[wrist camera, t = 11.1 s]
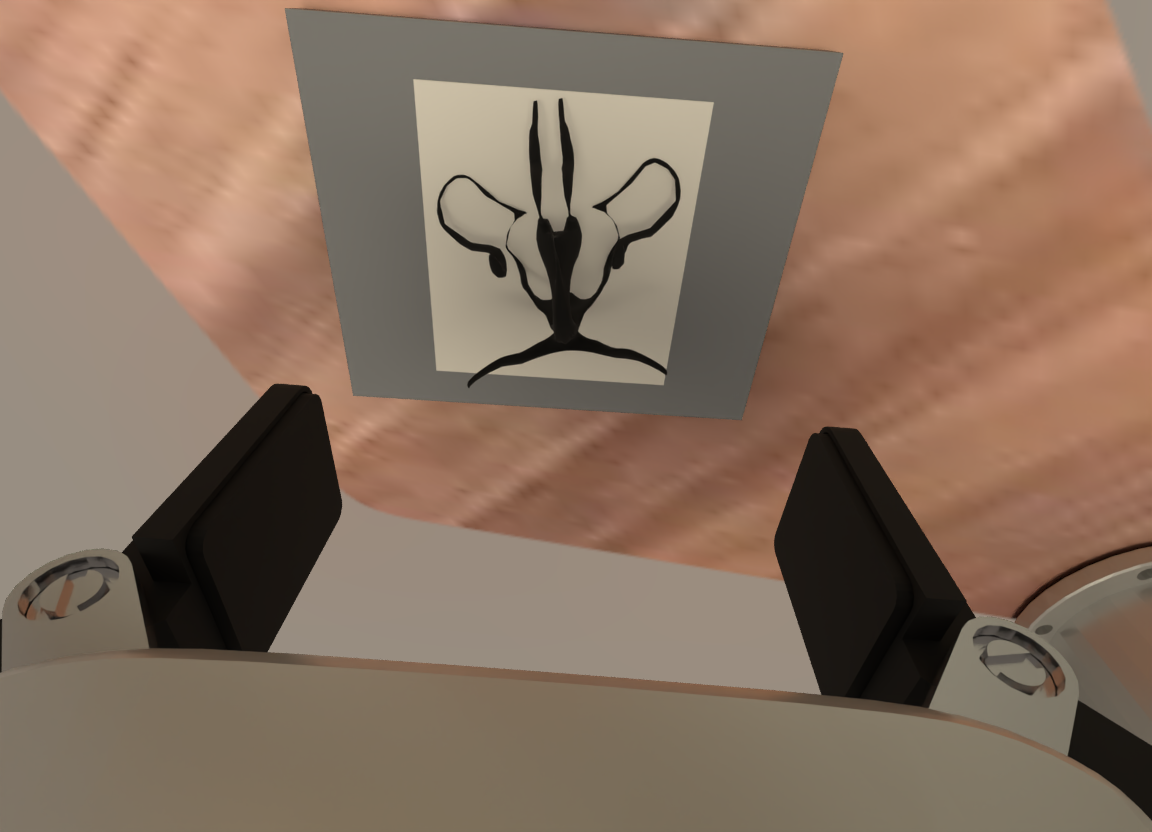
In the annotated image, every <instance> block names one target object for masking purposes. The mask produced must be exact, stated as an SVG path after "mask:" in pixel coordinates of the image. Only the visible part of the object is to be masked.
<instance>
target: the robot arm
mask: <svg viewBox="0 0 1152 832" xmlns="http://www.w3.org/2000/svg"><path fill="white" fill-rule="evenodd" d="M341 509H342V499H341V494H340V489H339V484H338V479H337V474H336V470H335V465H334V460H333V455H332V450H331V445H330V440H329V436H328V431H327V426H326V421H325V416H324V411H323V406H322V402H321V399H320V397H319V395H317V394H312V391H311V390H310V388H309V387H307V386H301V385H288V384H274V385H272V386H271V387H270V388H269V389H268V390H267V391H266V392H265V394H264V395H263V396H262V397H261V398H260V399H259V400H258V401H257V402H256V403H255V404H254V405H253V406H252V408H251V409H250V410H249V411H248V412H247V413H246V414H245V415H244V416H243V417H242V418H241V420H239V422H238V423H237V424H236V425H235V426H234V427H233V428H232V429H231V430H230V431H229V432H228V433H227V435H226V436H225V437H224V438H223V439H222V440H221V441H220V442H219V443H218V444H217V445H216V447H215V448H214V449H213V450H212V451H211V452H210V453H209V454H208V455H207V456H206V457H205V458H204V459H203V460H202V461H201V463H200V464H199V465H198V466H197V467H196V468H195V469H194V470H193V471H192V472H191V473H190V474H189V476H188V477H187V478H186V479H185V480H184V481H183V482H182V483H181V484H180V485H179V486H178V487H177V489H176V490H175V491H174V492H173V493H172V494H171V495H170V496H169V497H168V498H167V499H166V500H165V501H164V502H163V504H162V505H161V506H160V507H159V508H158V509H157V510H156V511H155V512H154V513H153V514H152V515H151V517H150V518H149V519H148V520H147V521H146V522H145V523H144V524H143V525H142V526H141V527H140V528H139V529H138V531H137V532H136V533H135V534H134V535H133V536H132V539H133V541H132V542H131V543H130V544H129V545H128V546H127V547H126V548H125V550H124V551H123V552H122V553H121V552H119V551H116V550H110V549H92V550H84V551H80V552H76V553H72V554H68V555H66V556H63V557H61V558H58V559H56V560H53V561H51V562H49V563H47V564H45V565H44V566H42V567H40V568H39V569H37V570H35V571H34V572H32V573H30V574H29V575H28V576H27V577H26V578H24V579H23V580H22V581H21V582H20V583H18V584H17V585H16V586H15V587H14V589H13V590H12V592H11V593H10V594H9V596H8V597H7V598H6V600H5V604H4V607H3V611H2V619H0V832H1152V546H1151V547H1146V548H1140V549H1136V550H1133V551H1129V552H1126V553H1122V554H1119V555H1115V556H1112V557H1109V558H1107V559H1104V560H1102V561H1099V562H1096V563H1094V564H1091V565H1089V566H1086V567H1084V568H1083V569H1081V570H1079V571H1077V572H1075V573H1073V574H1071V575H1069V576H1067V577H1065V578H1063V579H1062V580H1060V581H1059V582H1057V583H1055V584H1054V585H1052V586H1051V587H1049V588H1048V589H1046V590H1045V591H1044V592H1042V593H1041V594H1040V595H1039V596H1038V597H1036V598H1035V599H1034V600H1033V601H1032V602H1031V603H1029V604H1028V606H1027V607H1026V608H1025V609H1024V610H1023V611H1022V613H1021V614H1020V615H1019V616H1018V617H1017V619H1016V621H1015V623H1013V622H1011V621H1008V620H1004V619H999V618H995V617H978V618H976V617H975V615H974V614H973V612H972V611H971V609H970V608H969V606H968V604H967V603H966V602H967V601H966V599H965V598H964V596H963V594H962V593H961V591H960V590H959V588H958V586H957V585H956V583H955V582H954V580H953V579H952V577H951V575H950V574H949V572H948V571H947V569H946V567H945V566H944V564H943V563H942V561H941V560H940V558H939V556H938V555H937V553H936V552H935V550H934V549H933V547H932V545H931V544H930V542H929V541H928V539H927V537H926V536H925V534H924V533H923V531H922V530H921V528H920V526H919V525H918V523H917V522H916V520H915V518H914V517H913V515H912V514H911V512H910V511H909V509H908V507H907V506H906V504H905V503H904V501H903V499H902V498H901V496H900V495H899V493H898V492H897V490H896V488H895V487H894V485H893V484H892V482H891V480H890V479H889V477H888V476H887V474H886V473H885V471H884V469H883V468H882V466H881V465H880V463H879V461H878V460H877V458H876V457H875V455H874V454H873V452H872V450H871V449H870V447H869V446H868V444H867V442H866V441H865V439H864V438H863V436H862V435H861V433H860V432H859V431H858V430H857V429H852V428H839V427H824V428H823V429H822V430H821V431H820V433H814V434H812V435H811V437H810V439H809V441H808V444H807V447H806V449H805V452H804V455H803V458H802V461H801V464H800V466H799V469H798V472H797V475H796V478H795V480H794V483H793V486H792V489H791V492H790V494H789V497H788V500H787V503H786V506H785V509H784V511H783V514H782V517H781V520H780V523H779V525H778V528H777V531H776V534H775V540H774V548H775V553H776V557H777V560H778V563H779V566H780V569H781V572H782V575H783V578H784V581H785V584H786V587H787V590H788V593H789V597H790V600H791V603H792V606H793V609H794V612H795V615H796V618H797V621H798V624H799V627H800V630H801V633H802V636H803V639H804V643H805V646H806V649H807V652H808V655H809V657H810V661H811V664H812V667H813V670H814V673H815V676H816V679H817V683H818V685H819V689H820V692H821V695H817V694H806V693H796V692H786V691H775V690H763V689H750V688H739V687H726V686H714V685H701V684H690V683H678V682H666V681H652V680H641V679H629V678H616V677H602V676H590V675H577V674H564V673H551V672H539V671H525V670H511V669H498V668H484V667H472V666H459V665H446V664H431V663H416V662H403V661H389V660H373V659H360V658H346V657H333V656H318V655H305V654H288V653H270V652H268V650H269V648H270V646H271V644H272V643H273V641H274V639H275V637H276V635H277V633H278V631H279V629H280V628H281V626H282V624H283V622H284V620H285V618H286V617H287V615H288V613H289V611H290V609H291V607H292V605H293V604H294V602H295V600H296V598H297V596H298V594H299V592H300V591H301V589H302V587H303V585H304V583H305V581H306V579H307V578H308V576H309V574H310V572H311V570H312V568H313V567H314V565H315V563H316V561H317V559H318V557H319V555H320V553H321V552H322V550H323V548H324V546H325V544H326V542H327V540H328V539H329V537H330V535H331V533H332V531H333V529H334V528H335V526H336V524H337V522H338V520H339V518H340V515H341Z"/></svg>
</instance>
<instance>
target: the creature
mask: <svg viewBox="0 0 1152 832" xmlns="http://www.w3.org/2000/svg"><path fill="white" fill-rule="evenodd" d="M558 110H559V125H560V140H561V149H562V156H563V164H562V168H561V169H562V181H563V189H564V197H565V201H566V204H567V208H568V215H569V216H568V217H567V219H566V223H565V227H564V230H563V231H555V232H554V231H553V229H552V226H551V224H550V222H549V220H548V219H544V218H543V217H542V215H541V198H542V171H543V169H542V164H541V155H540V144H539V138H538V103H537V100H536V101H534V102H533V114H532V125H531V128H530V131H529V161H530V175H531V184H532V193H533V197H534V201H535V204H536V207H537V210H538V214H539V219H538V225H537V231H536V241H537V246H538V250H539V253H540V255H541V258H542V261H543V263H544V266H545V268H546V271H547V275H548V278H549V282H550V288H551V293H552V299H551V300H542V299H540V298H539V297H537V296H536V295H534V293H533V291H532V290H531V288H530V286H529V285H528V280H527V275H526V271H525V268H524V266H523V265H522V263H521V262H520V261H519V260H518V258H517V257H516V256H515V255H514V254H513V253H512V252H511V251H510V250H509V249H508V246H507V240H508V236H509V232H510V229H509V231H508V233H507V239H506V249H507V251H508V252H509V253H510V254H511V255H512V256H513V258H514V260H515V262H516V264H517V268H518V271H519V274H520V279H521V284H522V287H523V289H524V290H525V291H526V292H527V293H528V295H529V296H530V298H531V299H532V301H533V302H534V304H535V306H536V307H537V309H539V310H540V311H541V312H543V313H544V314H545V316H546V318H547V320H548V323H549V325H550V328H551V329H552V330H553V332H554V333H553V334H552V335H551V336H550V337H548V338H546V339H545V340H543V341H540V342H538V343H537V344H535V345H533V346H532V347H530V348H528V349H526V350H524V351H523V352H520V353H516V354H511V355H507V356H504V357H501V358H499V359H497V360H495V361H494V362H492V363H490V364H489V365H487V366H486V367H484V368H483V369H481V370H480V371H479V372H478V373H476V374H475V375H474V376H473V377H472V378H471V379H470V380H469V381H468V384H467V386H468V388H470V386H471V385H472V384H473V383H474V382H475V381H477V380H478V379H480V378H481V377H483V376H485V375H486V374H488V373H490V372H492V371H494V370H496V369H498V368H501V367H504V366H511V365H518V364H523V363H525V362H528V361H530V360H533V359H536V358H539V357H542V356H545V355H548V354H551V353H556V352H561V351H585V352H591V353H596V354H600V355H604V356H609V357H613V358H622V359H630V360H635V361H639V362H642V363H644V364H646V365H649V366H651V367H653V368H655V369H657V370H659V371H660V372H662V373H663V374H665V375H667V370H666V369H665V368H664V367H663V366H662V365H660V364H659V363H657V362H656V361H654V360H652V359H650V358H649V357H647V356H645V355H643V354H641V353H638V352H636V351H634V350H631V349H625V348H614V347H610V346H608V345H606V344H603V343H601V342H599V341H597V340H593V339H589V338H586V337H585V336H583V335H581V334H580V333H579V331H578V330H579V327H580V324H581V321H582V319H583V316H584V314H585V312H586V311H587V310H588V309H589V308H590V307H591V306H592V305H593V303H594V302H595V301H596V299H597V298H598V296H599V295H600V293H601V292H602V290H603V288H604V286H605V285H606V283H607V281H608V279H609V276H610V272H611V267H612V269H620V268H621V266H622V265H623V264H624V258H625V252H626V251H627V247H628V245H629V244H630V243H631V242H634V241H637V240H640V239H643V238H648V237H652V236H653V235H654V234H655V233H656V232H657V231H659V230H660V229H661V228H662V227H663V226H664V225H665V224H666V223H667V222H668V221H669V220H670V219H671V218H672V217H673V215H674V213H675V211H676V209H677V207H678V204H679V201H680V197H681V188H680V182H679V178H678V176H677V174H676V172H675V171H674V170H673V169H672V167H671V166H670V165H669V164H668V163H666V162H664V161H663V160H661V159H657V158H652V159H649V160H647V161H645V162H644V163H643V164H642V165H641V166H640V167H639V169H638V170H637V171H636V172H635V173H634V174H633V176H632V177H631V178H630V179H629V180H628V181H627V182H626V183H625V184H624V186H623V187H622V188H621V189H620V190H619V191H618V192H617V193H615V194H614V195H612V196H611V197H609V198H608V199H606V200H605V201H603V202H602V203H599V204H597V205H594V206H593V207H592V208H595V209H597V210H600V211H603V212H605V213H606V214H607V207H606V205H607V204H608V203H610V202H611V201H612V200H613V199H614V198H615V197H617V196H618V195H619V194H620V193H621V192H622V191H624V190H625V189H626V188H627V187H628V186H629V185H631V184H632V183H633V181H634V180H635V179H636V178H637V176H638V175H639V174H640V173H641V171H642V170H643V169H644V168H645V166H648V165H651V164H653V163H657V164H659V165H661V166H663V167H665V168H667V169H668V170H669V172H670V173H671V175H672V176H673V177H674V179H675V194H676V201H675V202H674V203H673V204H672V205H671V207H670V208H669V209H668V210H667V211H666V212H665V213H664V214H663V215H662V216H661V217H660V218H659V219H658V220H657V221H656V222H655V223H654V224H653V226H652V227H651V228H649V229H646V230H642V231H639V232H635V233H632V234H628V235H626V236H624V237H622V238H621V239H620V236H619V232H618V228H617V225H616V224H615V222H614V224H615V227H616V230H617V232H618V240H617V242H616V243H615V245H614V246H613V248H612V249H611V251H610V253H609V255H608V257H607V260H606V263H605V266H604V270H603V277H602V282H601V284H600V286H599V288H598V289H597V291H596V293H595V294H594V295H593V296H592V297H591V298H588V299H580V298H578V297H577V296H575V295H574V294H573V293H572V292H570V284H571V277H572V272H573V268H574V265H575V262H576V260H577V258H578V256H579V252H580V248H581V243H582V232H581V228H580V225H579V222H578V220H577V218H576V217H574V216H572V215H571V214H570V203H571V197H572V188H573V173H574V151H573V146H572V142H571V139H570V133H569V129H568V126H567V124H566V122H565V118H564V105H563V99H562V98H560V99H559V101H558ZM457 178H467V179H469V180H470V181H472V182H473V183H474V184H475V185H476V186H477V187H478V188H479V189H480V191H481V192H482V193H483V194H484V195H485V196H486V197H488V198H490V199H491V200H493V201H495V202H497V203H498V204H500V205H502V206H503V207H505V208H507V209H509V210H510V211H512V212H513V213H514V218H515V221H516V220H517V219H518V218H520V217H522V216H523V215H524V214H527V213H526V212H525V211H521V210H518V209H515V208H513V207H511V206H509V205H506V204H504V203H502V202H499V201H498V200H497V199H496V198H495V197H493V196H492V195H491V194H490V193H489V192H488V191H486V190H485V189H484V188H483V187H482V186H481V185H479V184H478V183H477V182H476V181H474V180H473V179H472V178H471V177H469V176H466V175H456V176H453V177H452V178H451V179H450V180H449V181H448V182H447V183H446V184H445V185H444V186H443V188H442V190H441V192H440V194H439V197H438V202H437V215H438V219H439V222H440V225H441V226H442V228H443V229H444V230H445V231H446V232H447V233H448V234H449V235H450V236H451V237H452V238H454V239H455V240H456V241H457V242H458V243H459V244H460V245H462V246H464V247H465V248H467V249H469V250H471V251H477V252H486V253H489V254H490V255H489V265H490V268H491V271H492V273H493V274H494V275H495V276H496V277H498V278H504V277H506V274H507V263H506V259H505V256H504V254H503V252H502V251H501V249H500V248H497V247H495V246H492V245H487V244H478V243H473V242H470V241H468V240H467V239H466V238H464V237H463V236H461V235H460V234H458V233H457V232H456V231H454V230H453V229H451V228H450V227H449V226H447V225H446V224H445V222H444V218H443V213H442V209H441V204H440V200H441V198H442V196H443V193H444V191H445V189H446V187H447V185H449V184H450V183H451V182H453V181H454V180H455V179H457ZM607 215H608V214H607ZM608 216H609V215H608ZM609 217H610V216H609ZM610 218H611V217H610ZM611 219H612V218H611ZM612 220H613V219H612ZM515 221H514V222H515ZM613 221H614V220H613ZM514 222H513V223H514ZM512 225H513V224H512ZM510 228H511V227H510Z"/></svg>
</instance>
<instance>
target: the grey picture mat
mask: <svg viewBox="0 0 1152 832" xmlns="http://www.w3.org/2000/svg"><path fill="white" fill-rule="evenodd" d="M285 13H286V19H287V24H288V30H289V35H290V41H291V47H292V52H293V58H294V64H295V69H296V75H297V81H298V86H299V92H300V98H301V103H302V109H303V115H304V120H305V126H306V131H307V137H308V143H309V148H310V154H311V160H312V165H313V171H314V177H315V182H316V188H317V194H318V199H319V205H320V211H321V216H322V222H323V227H324V233H325V239H326V244H327V250H328V256H329V261H330V267H331V273H332V278H333V284H334V290H335V295H336V301H337V306H338V312H339V318H340V323H341V329H342V335H343V340H344V346H345V352H346V357H347V363H348V369H349V374H350V380H351V386H352V391H353V396H367V397H382V398H398V399H414V400H430V401H446V402H462V403H478V404H494V405H510V406H525V407H541V408H557V409H573V410H589V411H605V412H621V413H637V414H653V415H669V416H684V417H700V418H716V419H732V420H742V417H743V413H744V410H745V406H746V403H747V399H748V395H749V392H750V388H751V385H752V381H753V377H754V374H755V370H756V367H757V363H758V359H759V356H760V352H761V349H762V345H763V341H764V338H765V334H766V331H767V327H768V323H769V320H770V316H771V313H772V309H773V305H774V302H775V298H776V295H777V291H778V287H779V284H780V280H781V277H782V273H783V269H784V266H785V262H786V259H787V255H788V251H789V248H790V244H791V240H792V237H793V233H794V230H795V226H796V222H797V219H798V215H799V212H800V208H801V204H802V201H803V197H804V194H805V190H806V186H807V183H808V179H809V176H810V172H811V168H812V165H813V161H814V158H815V154H816V150H817V147H818V143H819V140H820V136H821V132H822V129H823V125H824V122H825V118H826V114H827V111H828V107H829V104H830V100H831V96H832V93H833V89H834V86H835V82H836V78H837V75H838V71H839V68H840V64H841V60H842V57H843V53H840V52H834V51H825V50H813V49H800V48H788V47H775V46H763V45H750V44H738V43H725V42H713V41H700V40H688V39H675V38H663V37H651V36H638V35H626V34H613V33H601V32H588V31H576V30H563V29H551V28H538V27H526V26H513V25H501V24H488V23H476V22H463V21H451V20H438V19H426V18H413V17H401V16H388V15H376V14H364V13H351V12H339V11H326V10H314V9H298V8H285ZM560 98H562V99H563V105H564V118H565V122H566V124H567V126H568V129H569V133H570V139H571V142H572V146H573V151H574V173H573V188H572V197H571V203H570V214H571V215H572V216H574V217H576V218H577V220H578V222H579V225H580V228H581V232H582V243H581V248H580V252H579V256H578V258H577V260H576V262H575V265H574V268H573V272H572V277H571V284H570V292H572V293H573V294H574V295H575V296H577V297H578V298H580V299H588V298H591V297H592V296H593V295H594V294H595V293H596V291H597V289H598V288H599V286H600V284H601V282H602V277H603V270H604V266H605V263H606V260H607V257H608V255H609V253H610V251H611V249H612V248H613V246H614V245H615V243H616V242H617V240H618V232H619V236H620V239H621V238H622V237H624V236H626V235H628V234H632V233H635V232H639V231H642V230H646V229H649V228H651V227H652V226H653V224H654V223H655V222H656V221H657V220H658V219H659V218H660V217H661V216H662V215H663V214H664V213H665V212H666V211H667V210H668V209H669V208H670V207H671V205H672V204H673V203H674V202H675V201H676V194H675V179H674V177H673V176H672V175H671V173H670V172H669V170H668V169H667V168H665V167H663V166H661V165H659V164H657V163H653V164H651V165H648V166H645V168H644V169H643V170H642V171H641V173H640V174H639V175H638V176H637V178H636V179H635V180H634V181H633V183H632V184H631V185H629V186H628V187H627V188H626V189H625V190H624V191H622V192H621V193H620V194H619V195H618V196H617V197H615V198H614V199H613V200H612V201H611V202H610V203H608V204H607V205H606V207H607V214H608V215H609V216H610V217H611V218H612V219H613V220H614V221H613V220H612V219H611V218H610V217H609V216H608V215H607V214H606V213H605V212H603V211H600V210H597V209H595V208H592V207H593V206H594V205H597V204H599V203H602V202H603V201H605V200H606V199H608V198H609V197H611V196H612V195H614V194H615V193H617V192H618V191H619V190H620V189H621V188H622V187H623V186H624V184H625V183H626V182H627V181H628V180H629V179H630V178H631V177H632V176H633V174H634V173H635V172H636V171H637V170H638V169H639V167H640V166H641V165H642V164H643V163H644V162H645V161H647V160H649V159H652V158H657V159H661V160H663V161H664V162H666V163H668V164H669V165H670V166H671V167H672V169H673V170H674V171H675V172H676V174H677V176H678V178H679V182H680V188H681V197H680V201H679V204H678V207H677V209H676V211H675V213H674V215H673V217H672V218H671V219H670V220H669V221H668V222H667V223H666V224H665V225H664V226H663V227H662V228H661V229H660V230H659V231H657V232H656V233H655V234H654V235H653V236H652V237H648V238H643V239H640V240H637V241H634V242H631V243H630V244H629V245H628V247H627V251H626V252H625V258H624V264H623V265H622V266H621V268H620V269H612V267H611V272H610V276H609V279H608V281H607V283H606V285H605V286H604V288H603V290H602V292H601V293H600V295H599V296H598V298H597V299H596V301H595V302H594V303H593V305H592V306H591V307H590V308H589V309H588V310H587V311H586V312H585V314H584V316H583V319H582V321H581V324H580V327H579V330H578V331H579V333H580V334H581V335H583V336H585V337H586V338H589V339H593V340H597V341H599V342H601V343H603V344H606V345H608V346H610V347H614V348H625V349H631V350H634V351H636V352H638V353H641V354H643V355H645V356H647V357H649V358H650V359H652V360H654V361H656V362H657V363H659V364H660V365H662V366H663V367H664V368H665V369H666V370H667V375H665V374H663V373H662V372H660V371H659V370H657V369H655V368H653V367H651V366H649V365H646V364H644V363H642V362H639V361H635V360H630V359H622V358H613V357H609V356H604V355H600V354H596V353H591V352H585V351H561V352H556V353H551V354H548V355H545V356H542V357H539V358H536V359H533V360H530V361H528V362H525V363H523V364H518V365H511V366H504V367H501V368H498V369H496V370H494V371H492V372H490V373H488V374H486V375H485V376H483V377H481V378H480V379H478V380H477V381H475V382H474V383H473V384H472V385H471V386H470V388H468V386H467V384H468V381H469V380H470V379H471V378H472V377H473V376H474V375H475V374H476V373H478V372H479V371H480V370H481V369H483V368H484V367H486V366H487V365H489V364H490V363H492V362H494V361H495V360H497V359H499V358H501V357H504V356H507V355H511V354H516V353H520V352H523V351H524V350H526V349H528V348H530V347H532V346H533V345H535V344H537V343H538V342H540V341H543V340H545V339H546V338H548V337H550V336H551V335H552V334H553V333H554V332H553V330H552V329H551V328H550V325H549V323H548V320H547V318H546V316H545V314H544V313H543V312H541V311H540V310H539V309H537V307H536V306H535V304H534V302H533V301H532V299H531V298H530V296H529V295H528V293H527V292H526V291H525V290H524V289H523V287H522V284H521V279H520V274H519V271H518V268H517V264H516V262H515V260H514V258H513V256H512V255H511V254H510V253H509V252H508V251H507V249H506V239H507V233H508V231H509V229H510V232H509V236H508V240H507V246H508V249H509V250H510V251H511V252H512V253H513V254H514V255H515V256H516V257H517V258H518V260H519V261H520V262H521V263H522V265H523V266H524V268H525V271H526V275H527V280H528V285H529V286H530V288H531V290H532V291H533V293H534V295H536V296H537V297H539V298H540V299H542V300H551V299H552V293H551V288H550V282H549V278H548V275H547V271H546V268H545V266H544V263H543V261H542V258H541V255H540V253H539V250H538V246H537V241H536V231H537V225H538V219H539V214H538V210H537V207H536V204H535V201H534V197H533V193H532V184H531V175H530V161H529V131H530V128H531V125H532V114H533V102H534V101H536V100H537V103H538V138H539V144H540V155H541V164H542V169H543V171H542V198H541V215H542V217H543V218H544V219H548V220H549V222H550V224H551V226H552V229H553V231H554V232H555V231H563V230H564V227H565V223H566V219H567V217H568V216H569V215H568V208H567V204H566V201H565V197H564V189H563V181H562V169H561V168H562V164H563V156H562V149H561V140H560V125H559V110H558V101H559V99H560ZM456 175H466V176H469V177H471V178H472V179H473V180H474V181H476V182H477V183H478V184H479V185H481V186H482V187H483V188H484V189H485V190H486V191H488V192H489V193H490V194H491V195H492V196H493V197H495V198H496V199H497V200H498V201H499V202H502V203H504V204H506V205H509V206H511V207H513V208H515V209H518V210H521V211H525V212H526V213H527V214H524V215H523V216H522V217H520V218H518V219H517V220H516V221H515V218H514V213H513V212H512V211H510V210H509V209H507V208H505V207H503V206H502V205H500V204H498V203H497V202H495V201H493V200H491V199H490V198H488V197H486V196H485V195H484V194H483V193H482V192H481V191H480V189H479V188H478V187H477V186H476V185H475V184H474V183H473V182H472V181H470V180H469V179H467V178H457V179H455V180H454V181H453V182H451V183H450V184H449V185H447V187H446V189H445V191H444V193H443V196H442V198H441V200H440V204H441V209H442V213H443V218H444V222H445V224H446V225H447V226H449V227H450V228H451V229H453V230H454V231H456V232H457V233H458V234H460V235H461V236H463V237H464V238H466V239H467V240H468V241H470V242H473V243H478V244H487V245H492V246H495V247H497V248H500V249H501V251H502V252H503V254H504V256H505V259H506V263H507V274H506V277H504V278H498V277H496V276H495V275H494V274H493V273H492V271H491V268H490V265H489V255H490V254H489V253H486V252H477V251H471V250H469V249H467V248H465V247H464V246H462V245H460V244H459V243H458V242H457V241H456V240H455V239H454V238H452V237H451V236H450V235H449V234H448V233H447V232H446V231H445V230H444V229H443V228H442V226H441V225H440V222H439V219H438V215H437V202H438V197H439V194H440V192H441V190H442V188H443V186H444V185H445V184H446V183H447V182H448V181H449V180H450V179H451V178H452V177H453V176H456ZM514 221H515V222H514ZM513 222H514V223H513ZM614 222H615V224H616V225H617V228H618V232H617V230H616V227H615V224H614ZM512 224H513V225H512ZM510 227H511V228H510Z"/></svg>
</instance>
